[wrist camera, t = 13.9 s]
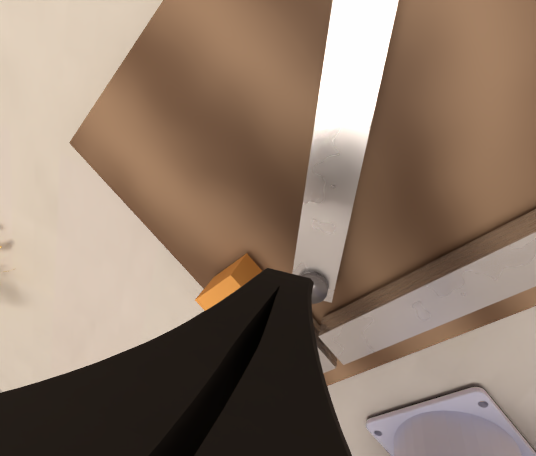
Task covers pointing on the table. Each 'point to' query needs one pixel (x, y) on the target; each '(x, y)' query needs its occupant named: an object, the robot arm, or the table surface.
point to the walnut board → (301, 133)
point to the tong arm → (341, 135)
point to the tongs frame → (433, 294)
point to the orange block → (228, 281)
